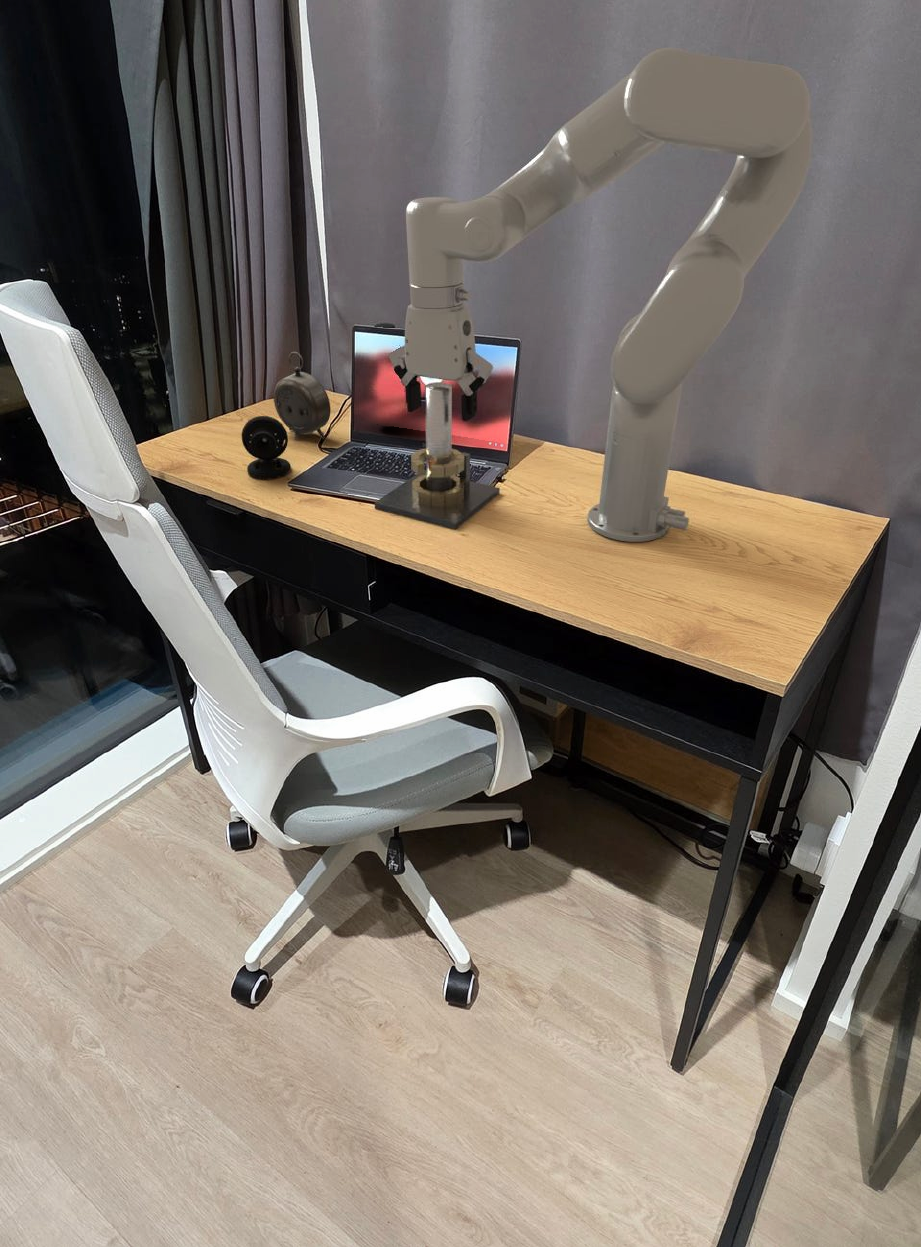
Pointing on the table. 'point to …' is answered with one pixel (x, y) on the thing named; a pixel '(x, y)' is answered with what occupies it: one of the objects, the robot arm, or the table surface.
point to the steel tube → (438, 432)
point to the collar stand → (439, 493)
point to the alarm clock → (302, 402)
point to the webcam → (266, 447)
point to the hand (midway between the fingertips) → (441, 413)
